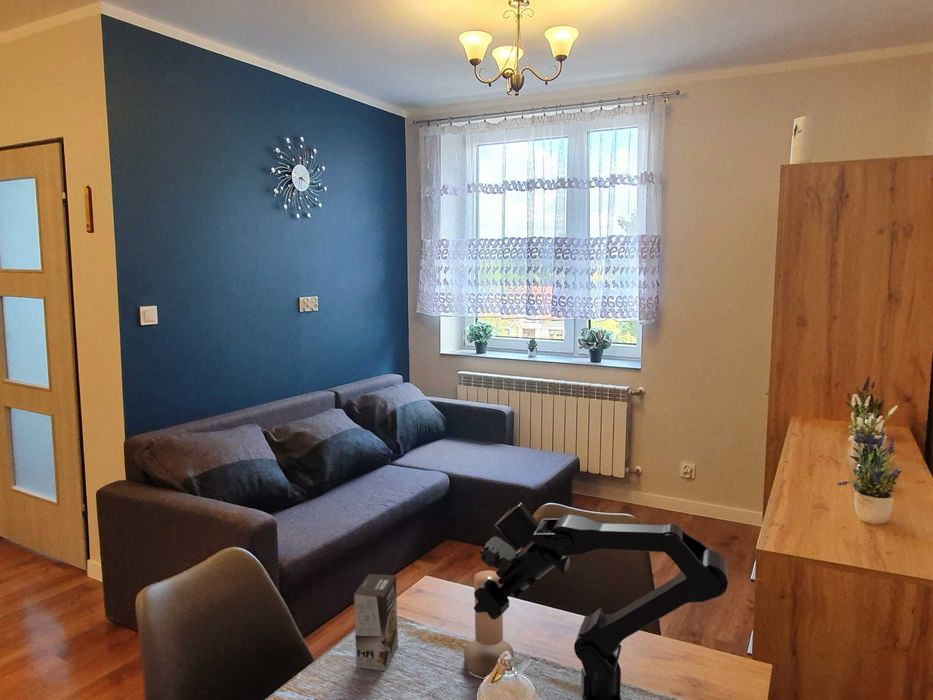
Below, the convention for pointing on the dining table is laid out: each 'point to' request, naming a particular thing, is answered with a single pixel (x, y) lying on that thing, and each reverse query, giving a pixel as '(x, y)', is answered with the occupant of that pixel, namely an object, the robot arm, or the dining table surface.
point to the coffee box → (376, 621)
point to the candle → (485, 626)
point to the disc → (484, 657)
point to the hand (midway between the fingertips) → (482, 603)
